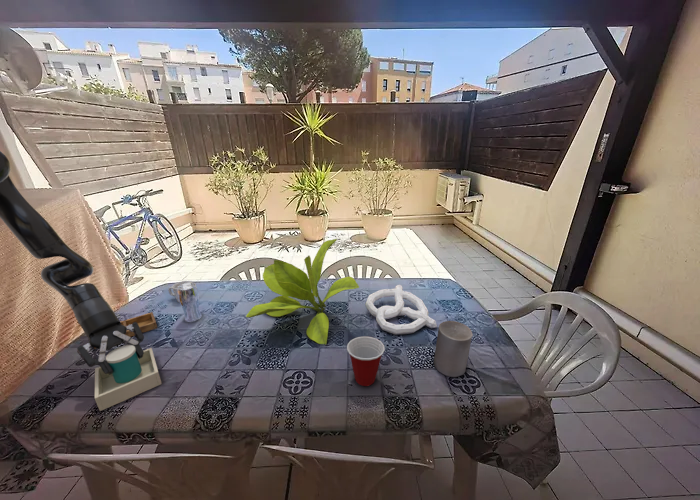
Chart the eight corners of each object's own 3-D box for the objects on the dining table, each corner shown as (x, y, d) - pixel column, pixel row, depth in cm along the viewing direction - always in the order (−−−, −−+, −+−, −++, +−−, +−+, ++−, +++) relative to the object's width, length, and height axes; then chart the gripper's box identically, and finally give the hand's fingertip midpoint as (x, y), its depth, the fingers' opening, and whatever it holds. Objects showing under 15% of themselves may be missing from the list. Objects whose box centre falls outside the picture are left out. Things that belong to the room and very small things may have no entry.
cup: (165, 304, 121) (161, 288, 118) (176, 295, 128) (173, 280, 125) (189, 305, 120) (185, 288, 118) (199, 296, 128) (196, 280, 125)
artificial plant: (276, 306, 131) (231, 268, 113) (347, 254, 132) (315, 208, 114) (294, 381, 98) (235, 345, 80) (390, 310, 99) (353, 259, 81)
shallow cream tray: (100, 412, 70) (94, 398, 69) (100, 381, 80) (94, 368, 78) (162, 384, 79) (158, 371, 77) (155, 359, 88) (151, 347, 87)
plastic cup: (378, 363, 87) (379, 332, 83) (387, 391, 77) (389, 357, 73) (344, 367, 86) (344, 335, 81) (349, 395, 75) (349, 361, 71)
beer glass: (207, 316, 112) (200, 284, 107) (191, 325, 106) (183, 291, 101) (195, 312, 114) (188, 280, 109) (179, 321, 108) (171, 288, 103)
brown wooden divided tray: (95, 350, 92) (92, 342, 91) (95, 337, 99) (92, 329, 98) (158, 329, 104) (156, 322, 102) (154, 318, 110) (152, 311, 109)
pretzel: (442, 330, 106) (445, 317, 103) (389, 347, 98) (391, 333, 95) (404, 290, 129) (405, 279, 126) (358, 301, 121) (359, 289, 118)
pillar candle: (435, 352, 92) (440, 314, 87) (466, 360, 89) (473, 321, 84) (431, 372, 84) (437, 331, 79) (465, 381, 80) (473, 340, 75)
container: (114, 387, 74) (105, 364, 71) (113, 374, 79) (105, 351, 76) (143, 375, 78) (136, 353, 75) (141, 363, 83) (134, 341, 80)
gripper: (62, 325, 70) (95, 379, 68) (127, 300, 82) (157, 346, 80) (62, 335, 74) (93, 386, 73) (124, 310, 86) (152, 354, 84)
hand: (126, 365), depth 76 cm, fingers closed on container, 6 cm apart
